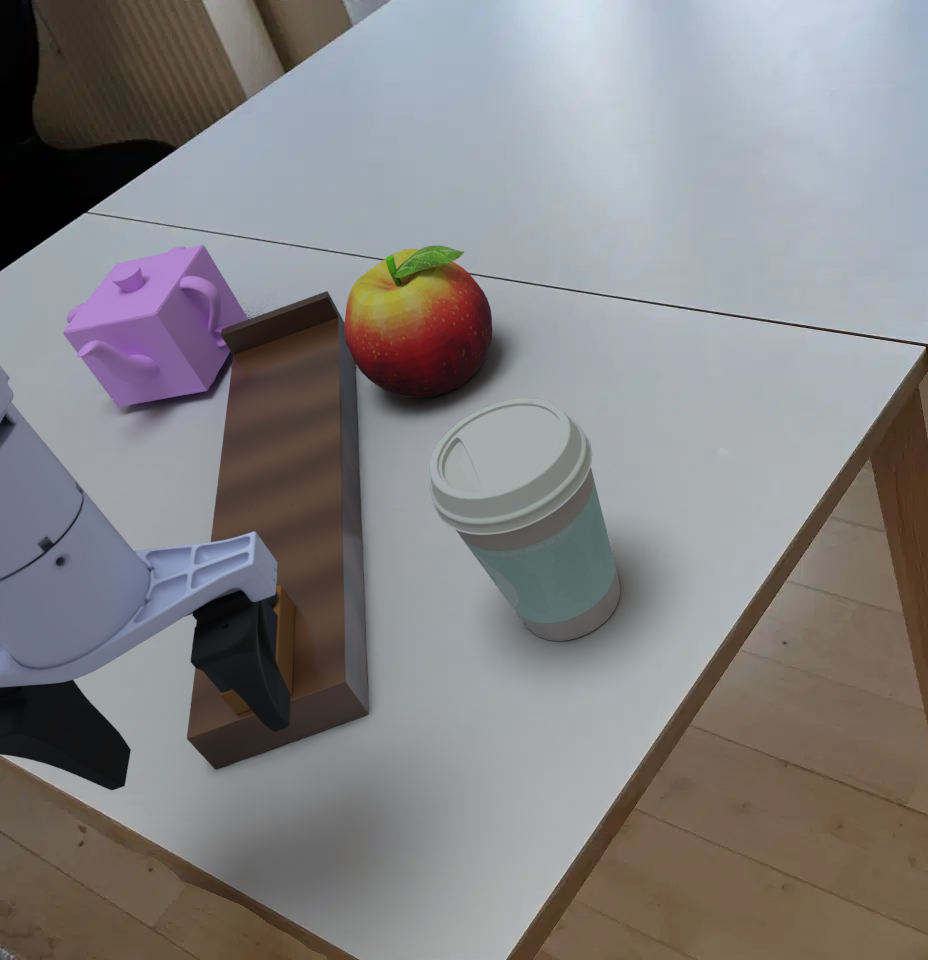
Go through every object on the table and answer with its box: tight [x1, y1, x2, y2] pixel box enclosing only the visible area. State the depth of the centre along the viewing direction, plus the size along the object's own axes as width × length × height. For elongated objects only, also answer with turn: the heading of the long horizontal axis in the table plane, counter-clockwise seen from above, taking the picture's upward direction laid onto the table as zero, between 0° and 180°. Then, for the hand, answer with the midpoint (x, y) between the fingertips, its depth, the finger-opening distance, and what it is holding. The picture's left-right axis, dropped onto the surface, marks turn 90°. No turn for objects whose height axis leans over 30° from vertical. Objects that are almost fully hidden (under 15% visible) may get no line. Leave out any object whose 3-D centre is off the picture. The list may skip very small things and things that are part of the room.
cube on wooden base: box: [195, 585, 295, 714], centre depth 60 cm, size 7×3×5 cm, turn 13°
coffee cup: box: [428, 397, 621, 642], centre depth 59 cm, size 8×8×12 cm
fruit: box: [344, 245, 493, 399], centre depth 81 cm, size 11×11×10 cm
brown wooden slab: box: [186, 290, 370, 770], centre depth 74 cm, size 40×9×5 cm, turn 13°
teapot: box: [62, 244, 249, 408], centre depth 91 cm, size 18×14×10 cm
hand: (201, 741), depth 49 cm, fingers open, 7 cm apart
